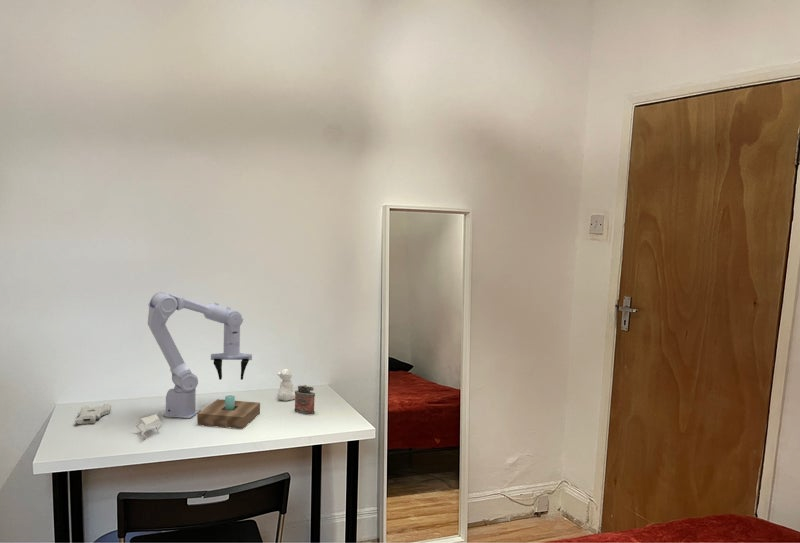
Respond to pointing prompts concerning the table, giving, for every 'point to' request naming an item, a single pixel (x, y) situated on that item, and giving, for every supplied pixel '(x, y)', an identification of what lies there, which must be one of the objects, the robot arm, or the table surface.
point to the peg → (230, 402)
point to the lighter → (304, 400)
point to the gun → (92, 413)
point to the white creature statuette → (285, 386)
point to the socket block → (228, 414)
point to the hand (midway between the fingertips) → (231, 378)
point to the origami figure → (148, 423)
